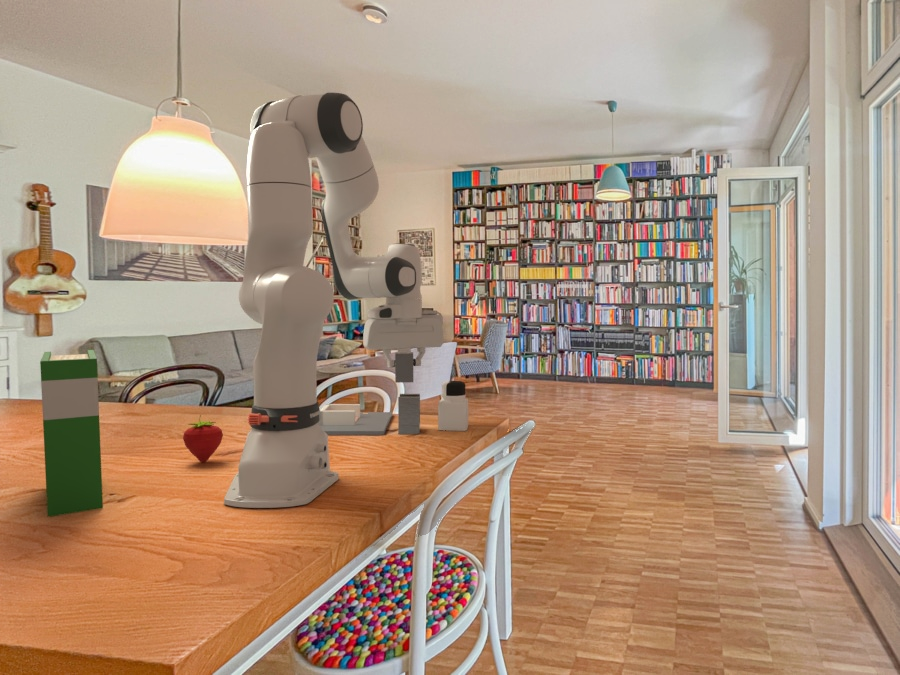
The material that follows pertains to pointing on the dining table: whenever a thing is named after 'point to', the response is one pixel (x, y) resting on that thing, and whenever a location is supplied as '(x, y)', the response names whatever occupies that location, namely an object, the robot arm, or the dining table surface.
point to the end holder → (352, 420)
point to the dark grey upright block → (409, 414)
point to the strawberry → (202, 439)
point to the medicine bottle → (453, 407)
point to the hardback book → (71, 433)
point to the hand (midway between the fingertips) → (404, 366)
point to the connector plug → (404, 365)
